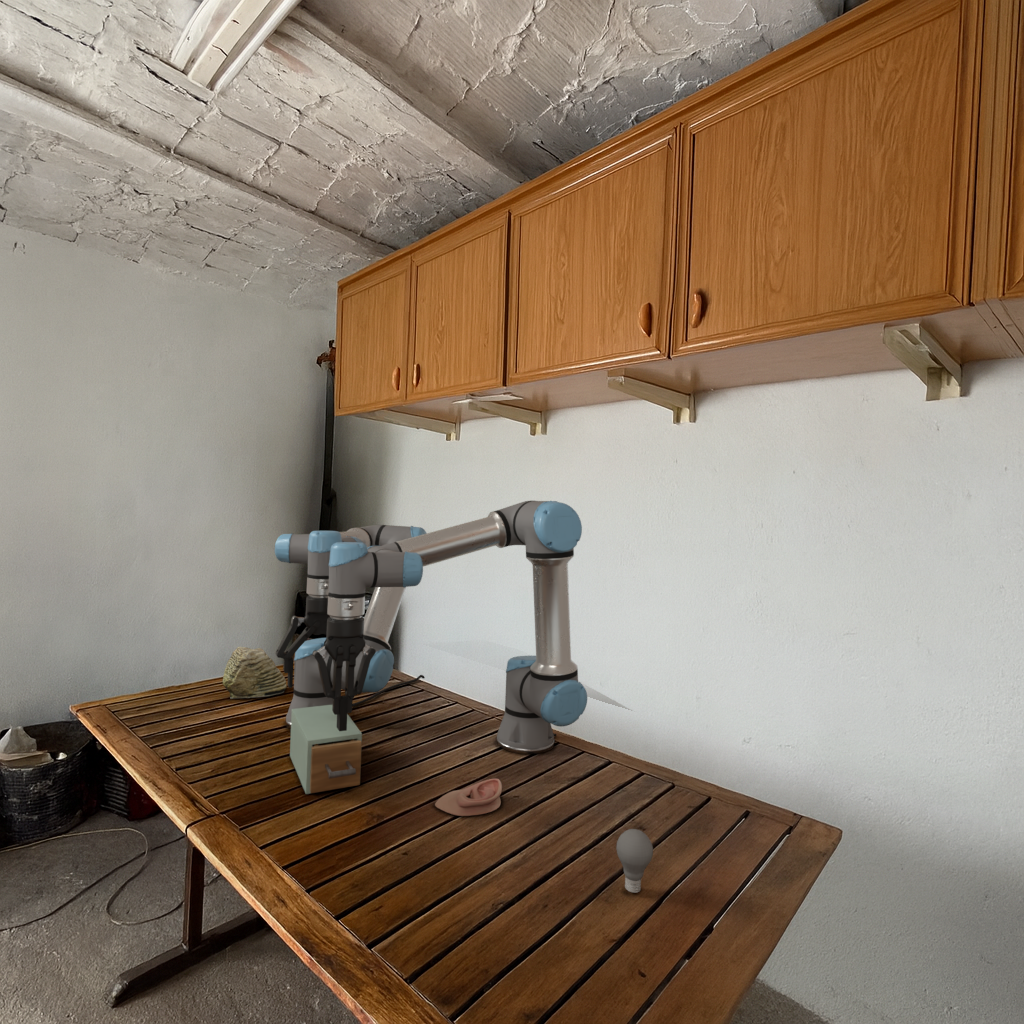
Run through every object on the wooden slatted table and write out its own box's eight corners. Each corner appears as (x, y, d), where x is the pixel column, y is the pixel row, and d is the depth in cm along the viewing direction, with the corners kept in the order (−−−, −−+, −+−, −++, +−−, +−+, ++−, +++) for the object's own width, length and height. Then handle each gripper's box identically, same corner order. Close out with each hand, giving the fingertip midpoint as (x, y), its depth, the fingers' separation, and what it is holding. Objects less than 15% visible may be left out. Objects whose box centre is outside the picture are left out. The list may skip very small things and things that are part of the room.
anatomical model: (430, 792, 129) (447, 769, 140) (429, 811, 129) (446, 787, 140) (494, 801, 126) (506, 777, 137) (493, 821, 126) (505, 795, 138)
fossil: (218, 695, 195) (220, 647, 195) (278, 685, 208) (279, 640, 207) (228, 703, 189) (230, 653, 188) (289, 692, 201) (290, 645, 201)
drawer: (366, 796, 133) (368, 751, 133) (315, 805, 128) (317, 759, 128) (338, 750, 156) (340, 712, 156) (294, 756, 151) (296, 717, 151)
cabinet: (360, 784, 140) (362, 733, 140) (305, 794, 135) (307, 740, 134) (338, 749, 159) (339, 703, 159) (289, 755, 154) (291, 708, 153)
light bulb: (610, 879, 108) (613, 822, 108) (644, 879, 109) (647, 822, 109) (619, 902, 102) (622, 840, 102) (655, 901, 103) (658, 840, 103)
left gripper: (269, 599, 142) (266, 693, 143) (378, 596, 154) (375, 682, 154) (265, 594, 149) (262, 684, 149) (370, 591, 161) (367, 674, 161)
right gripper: (317, 621, 126) (312, 739, 126) (381, 618, 132) (377, 730, 132) (310, 614, 132) (306, 726, 133) (371, 611, 138) (367, 719, 139)
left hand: (319, 683), depth 152 cm, fingers open, 13 cm apart
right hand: (341, 728), depth 132 cm, fingers closed
